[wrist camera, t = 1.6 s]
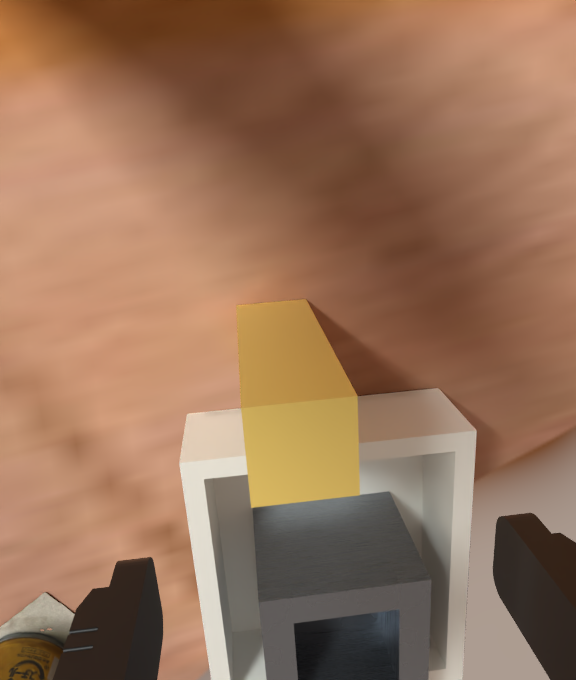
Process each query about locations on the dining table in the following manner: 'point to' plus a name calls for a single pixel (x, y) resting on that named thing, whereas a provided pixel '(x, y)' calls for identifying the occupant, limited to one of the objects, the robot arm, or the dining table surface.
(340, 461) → the plug
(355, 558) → the socket
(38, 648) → the condiment
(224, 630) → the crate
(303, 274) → the dining table surface
